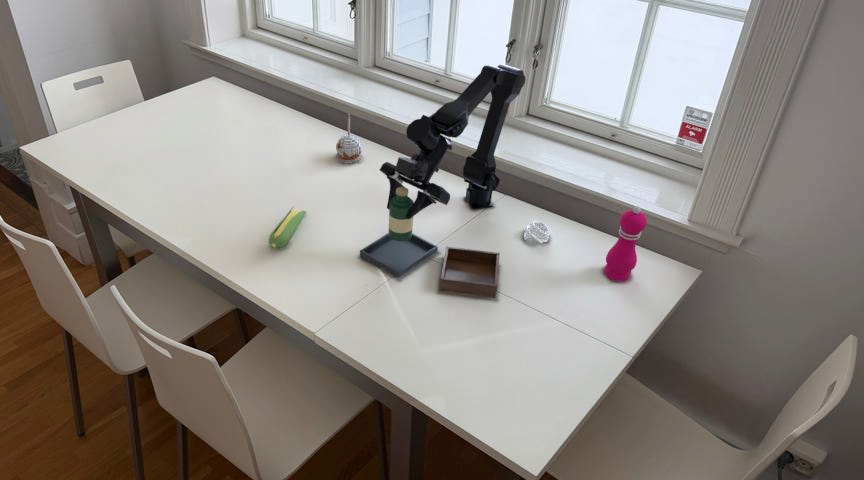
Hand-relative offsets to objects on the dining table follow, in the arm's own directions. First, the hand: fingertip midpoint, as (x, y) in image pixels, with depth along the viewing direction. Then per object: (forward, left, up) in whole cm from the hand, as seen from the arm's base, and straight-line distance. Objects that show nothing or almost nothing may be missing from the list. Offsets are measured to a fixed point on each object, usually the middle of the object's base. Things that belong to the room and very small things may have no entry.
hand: (397, 213), depth 162 cm
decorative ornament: (-2, -53, -13) cm, 55 cm away
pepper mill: (-51, +22, -13) cm, 57 cm away
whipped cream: (-39, +2, -13) cm, 42 cm away
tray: (-1, -1, -13) cm, 13 cm away
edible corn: (+24, -18, -13) cm, 33 cm away
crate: (-15, +13, -13) cm, 24 cm away
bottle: (-1, -1, -7) cm, 7 cm away
